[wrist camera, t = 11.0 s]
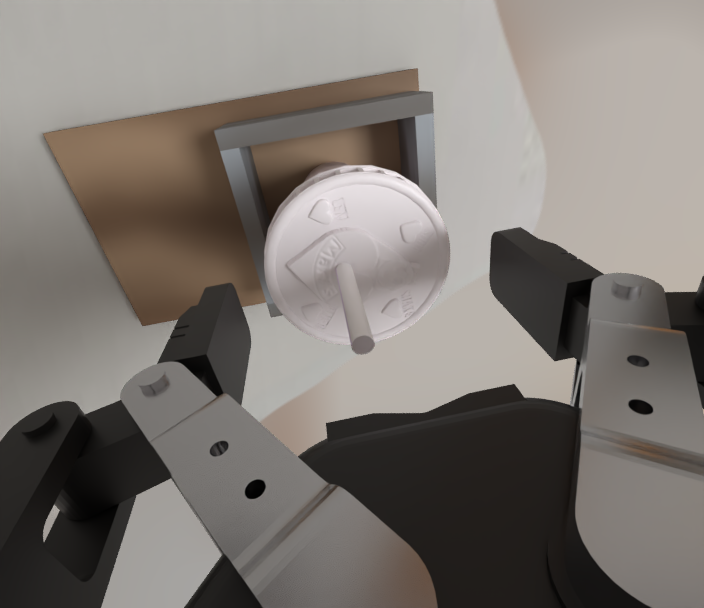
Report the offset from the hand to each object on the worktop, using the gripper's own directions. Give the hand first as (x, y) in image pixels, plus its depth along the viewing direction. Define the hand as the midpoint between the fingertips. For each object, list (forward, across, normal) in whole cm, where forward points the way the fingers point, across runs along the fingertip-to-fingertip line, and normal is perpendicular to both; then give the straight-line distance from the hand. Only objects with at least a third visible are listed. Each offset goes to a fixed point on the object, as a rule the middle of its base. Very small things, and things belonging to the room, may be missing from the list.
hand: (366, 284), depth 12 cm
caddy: (+12, +4, 0) cm, 12 cm away
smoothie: (+11, 0, 0) cm, 11 cm away
